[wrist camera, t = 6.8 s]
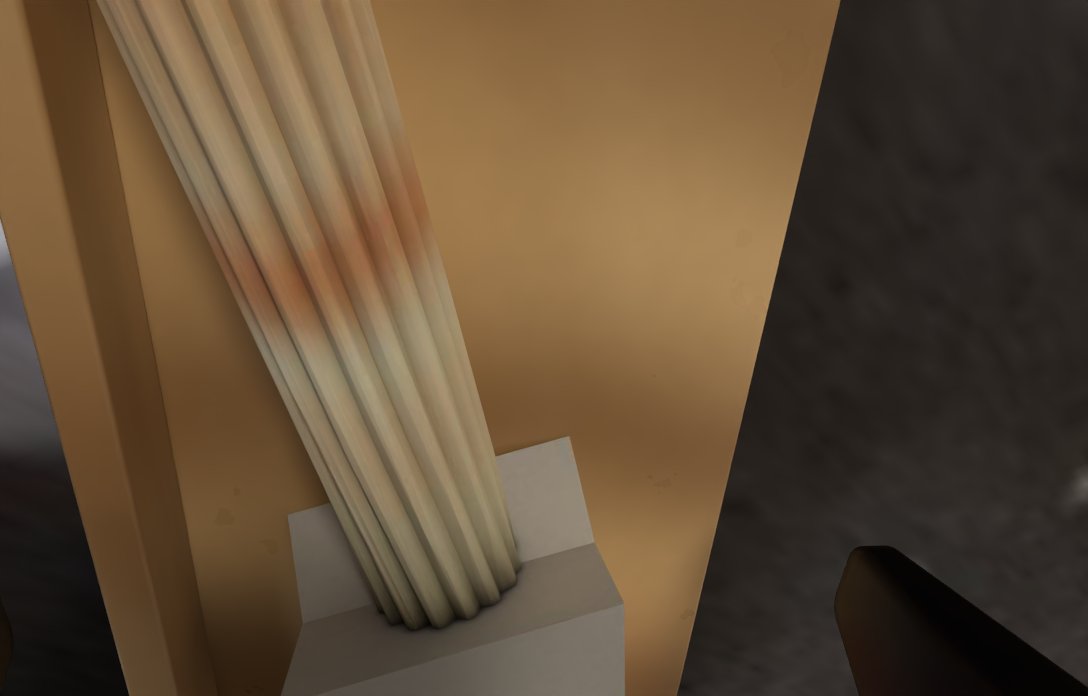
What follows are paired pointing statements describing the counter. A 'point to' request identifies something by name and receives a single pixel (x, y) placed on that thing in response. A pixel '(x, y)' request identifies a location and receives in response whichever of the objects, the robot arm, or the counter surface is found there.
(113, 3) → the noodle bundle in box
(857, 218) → the counter surface
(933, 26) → the counter surface
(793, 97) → the shelf
